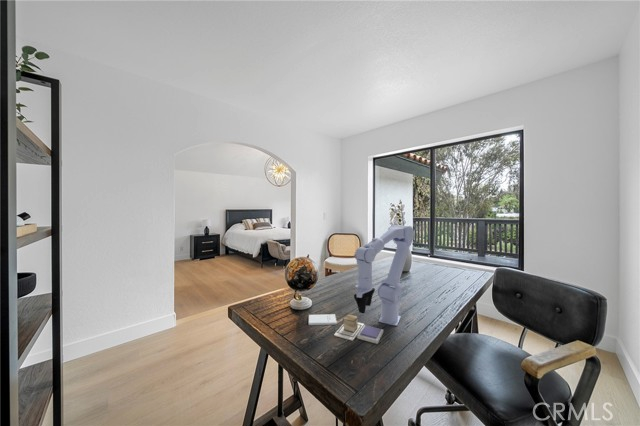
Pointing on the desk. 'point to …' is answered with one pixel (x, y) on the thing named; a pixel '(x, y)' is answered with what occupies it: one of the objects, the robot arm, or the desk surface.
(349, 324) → the stamp
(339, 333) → the print card
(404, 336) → the desk surface
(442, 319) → the desk surface
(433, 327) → the desk surface
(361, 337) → the ink pad
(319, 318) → the external hard drive
